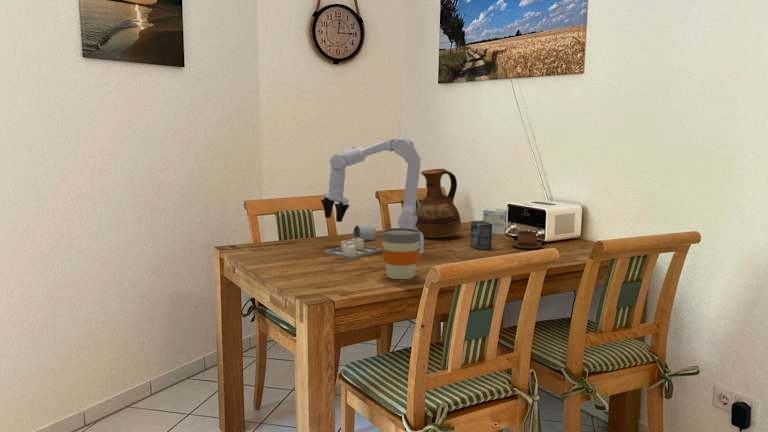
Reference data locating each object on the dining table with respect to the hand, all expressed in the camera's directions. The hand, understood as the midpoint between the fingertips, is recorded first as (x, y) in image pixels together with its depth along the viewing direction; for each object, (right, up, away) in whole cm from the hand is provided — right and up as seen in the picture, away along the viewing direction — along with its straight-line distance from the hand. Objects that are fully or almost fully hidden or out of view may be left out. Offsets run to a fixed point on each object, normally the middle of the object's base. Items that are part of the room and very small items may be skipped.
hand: (333, 219), depth 233 cm
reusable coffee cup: (+25, -19, -38) cm, 49 cm away
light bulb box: (+71, -7, +40) cm, 81 cm away
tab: (+7, -13, -13) cm, 20 cm away
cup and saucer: (+77, -12, +9) cm, 79 cm away
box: (+58, -12, +6) cm, 60 cm away
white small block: (+9, -11, -1) cm, 15 cm away
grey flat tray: (+8, -13, -7) cm, 17 cm away
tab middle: (+6, -12, -5) cm, 14 cm away
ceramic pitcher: (+43, -8, +30) cm, 53 cm away
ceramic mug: (+11, -10, +18) cm, 23 cm away
